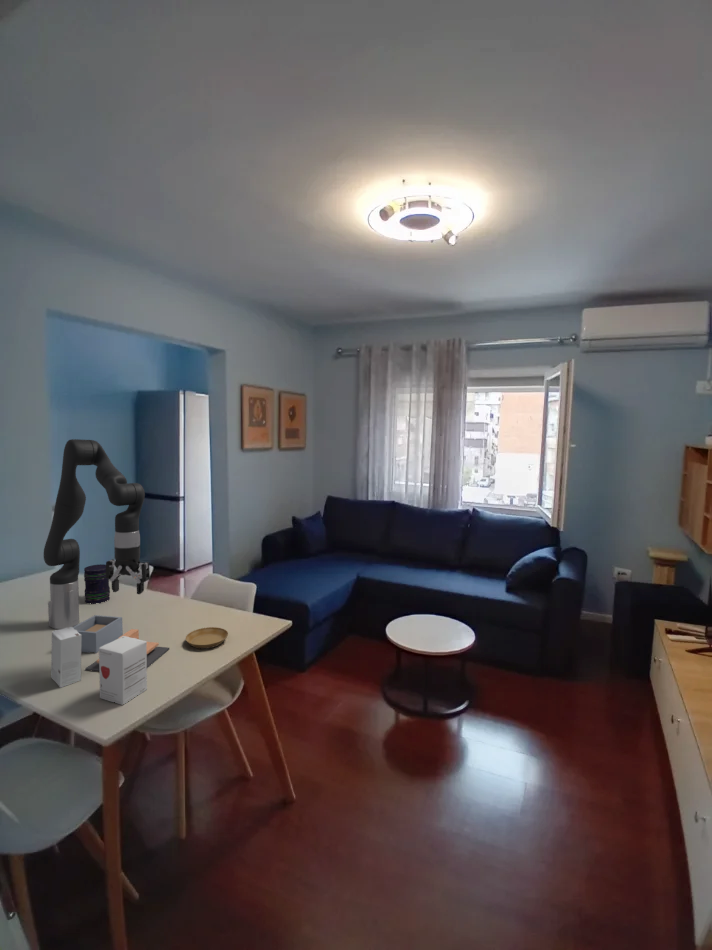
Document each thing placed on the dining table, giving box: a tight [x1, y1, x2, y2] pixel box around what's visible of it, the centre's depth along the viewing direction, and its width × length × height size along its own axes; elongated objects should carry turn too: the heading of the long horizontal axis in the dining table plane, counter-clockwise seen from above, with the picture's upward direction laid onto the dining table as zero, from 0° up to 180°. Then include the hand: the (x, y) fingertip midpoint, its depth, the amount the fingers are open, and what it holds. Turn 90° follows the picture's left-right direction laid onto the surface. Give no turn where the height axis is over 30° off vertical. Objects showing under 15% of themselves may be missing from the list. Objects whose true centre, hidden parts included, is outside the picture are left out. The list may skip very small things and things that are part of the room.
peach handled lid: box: [96, 628, 159, 663], centre depth 152 cm, size 15×12×8 cm
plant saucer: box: [184, 626, 229, 650], centre depth 167 cm, size 15×15×3 cm
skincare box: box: [50, 626, 82, 688], centre depth 139 cm, size 8×6×15 cm
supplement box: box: [98, 636, 148, 706], centre depth 132 cm, size 9×9×15 cm
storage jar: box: [83, 563, 111, 605], centre depth 204 cm, size 10×10×15 cm
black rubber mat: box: [85, 646, 170, 672], centre depth 152 cm, size 18×18×1 cm
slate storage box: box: [73, 614, 124, 654], centre depth 164 cm, size 14×11×7 cm
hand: (127, 592), depth 152 cm, fingers open, 8 cm apart
